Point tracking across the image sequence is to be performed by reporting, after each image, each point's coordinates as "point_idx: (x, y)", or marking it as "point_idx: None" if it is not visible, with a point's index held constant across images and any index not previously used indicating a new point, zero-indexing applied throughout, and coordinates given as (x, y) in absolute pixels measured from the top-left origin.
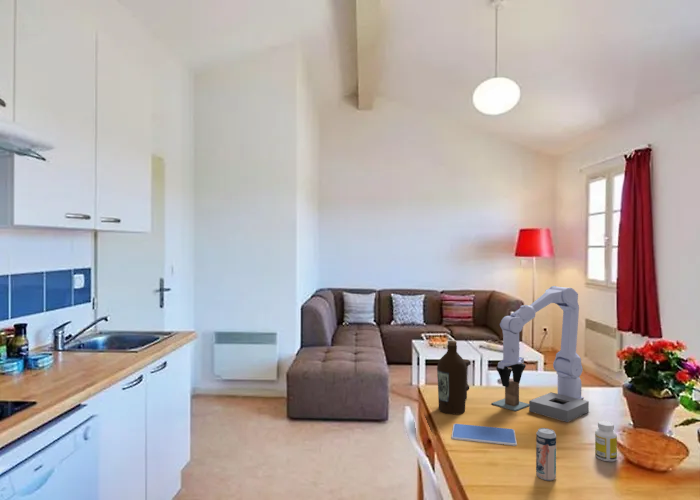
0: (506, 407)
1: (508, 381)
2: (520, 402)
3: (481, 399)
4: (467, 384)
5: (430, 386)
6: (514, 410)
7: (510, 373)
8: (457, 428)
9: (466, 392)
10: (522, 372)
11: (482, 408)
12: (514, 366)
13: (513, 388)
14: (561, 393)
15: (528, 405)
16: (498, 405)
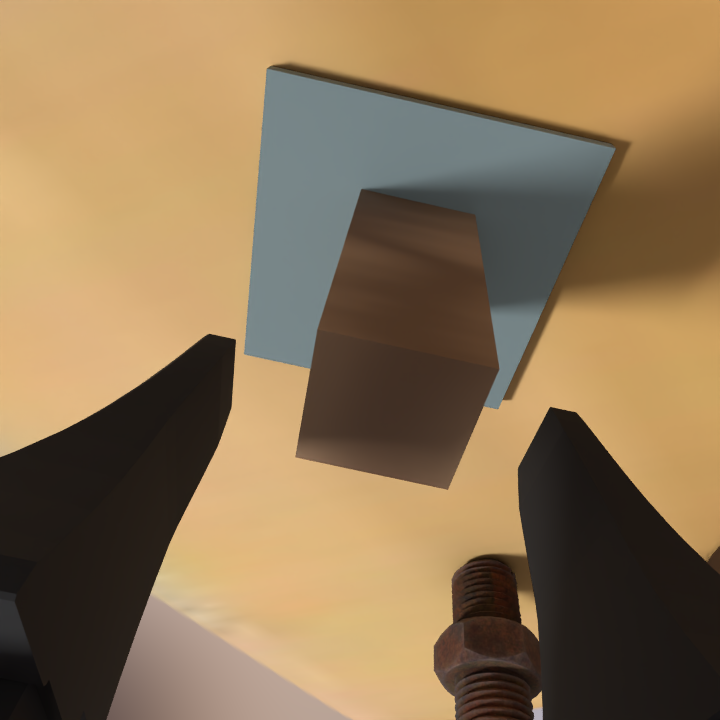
0: (561, 264)
1: (611, 474)
2: (285, 194)
3: (409, 487)
4: (454, 666)
5: (356, 713)
6: (605, 162)
7: (678, 610)
8: None
9: (489, 606)
10: (67, 428)
11: (662, 426)
12: (102, 662)
13: (493, 333)
14: None
15: (309, 77)
16: (525, 345)
